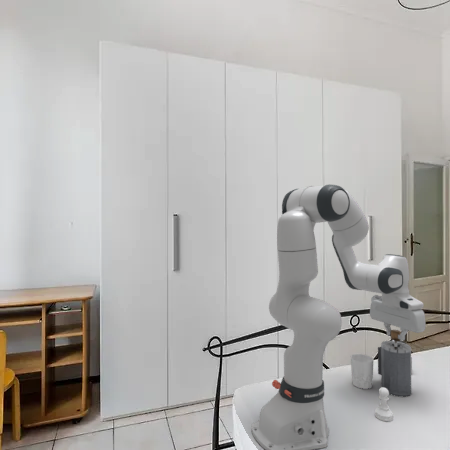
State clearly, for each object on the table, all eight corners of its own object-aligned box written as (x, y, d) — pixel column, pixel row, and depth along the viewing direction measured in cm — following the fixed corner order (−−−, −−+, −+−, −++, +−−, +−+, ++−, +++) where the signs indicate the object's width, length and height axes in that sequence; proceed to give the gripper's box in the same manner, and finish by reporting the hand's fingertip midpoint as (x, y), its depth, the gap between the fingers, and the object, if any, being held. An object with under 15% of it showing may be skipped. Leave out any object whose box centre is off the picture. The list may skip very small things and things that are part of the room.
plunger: (397, 388, 114) (397, 335, 114) (381, 380, 120) (380, 329, 120) (411, 384, 117) (410, 332, 117) (394, 376, 123) (394, 327, 123)
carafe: (398, 399, 112) (398, 352, 112) (370, 383, 123) (370, 341, 123) (417, 393, 116) (417, 347, 116) (388, 378, 127) (388, 337, 127)
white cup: (376, 391, 118) (375, 363, 118) (352, 389, 119) (352, 361, 119) (371, 380, 126) (370, 354, 126) (349, 379, 127) (348, 353, 127)
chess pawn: (375, 410, 105) (375, 382, 105) (392, 414, 103) (392, 385, 103) (375, 419, 101) (374, 389, 101) (393, 423, 99) (393, 393, 99)
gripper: (365, 294, 127) (366, 330, 127) (415, 306, 108) (416, 348, 108) (377, 293, 129) (378, 328, 129) (428, 304, 111) (428, 345, 111)
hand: (395, 337), depth 118 cm, fingers closed on plunger, 3 cm apart
